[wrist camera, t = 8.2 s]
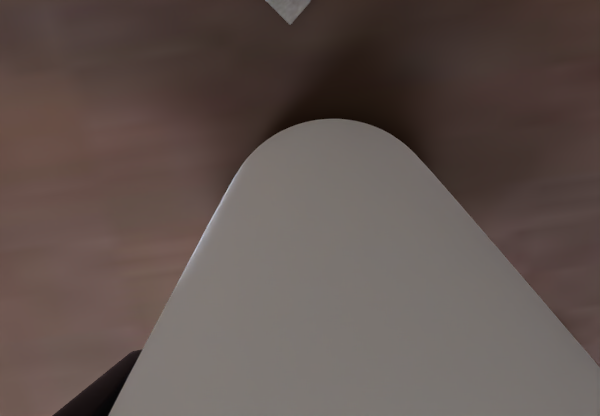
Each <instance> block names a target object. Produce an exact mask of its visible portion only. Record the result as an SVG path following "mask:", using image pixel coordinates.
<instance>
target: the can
mask: <svg viewBox="0 0 600 416" xmlns="http://www.w3.org/2000/svg"><path fill="white" fill-rule="evenodd" d="M108 416H600V367H599V366H598V365H597V364H596V362H595V361H594V360H593V359H592V358H591V357H590V355H589V354H588V353H587V352H586V351H585V349H584V348H583V347H582V346H581V345H580V344H579V342H578V341H577V340H576V339H575V338H574V337H573V335H572V334H571V333H570V332H569V331H568V330H567V328H566V327H565V326H564V325H563V324H562V323H561V321H560V320H559V319H558V318H557V317H556V316H555V314H554V313H553V312H552V311H551V310H550V308H549V307H548V306H547V305H546V304H545V303H544V301H543V300H542V299H541V298H540V297H539V296H538V294H537V293H536V292H535V291H534V290H533V289H532V287H531V286H530V285H529V284H528V283H527V282H526V280H525V279H524V278H523V277H522V276H521V275H520V273H519V272H518V271H517V270H516V269H515V268H514V266H513V265H512V264H511V263H510V262H509V261H508V259H507V258H506V257H505V256H504V255H503V254H502V252H501V251H500V250H499V249H498V248H497V247H496V246H495V244H494V243H493V242H492V241H491V240H490V239H489V237H488V236H487V235H486V234H485V233H484V232H483V230H482V229H481V228H480V227H479V226H478V225H477V223H476V222H475V221H474V220H473V219H472V218H471V217H470V215H469V214H468V213H467V212H466V211H465V210H464V208H463V207H462V206H461V205H460V204H459V203H458V202H457V200H456V199H455V198H454V197H453V196H452V195H451V193H450V192H449V191H448V190H447V189H446V188H445V187H444V185H443V184H442V183H441V182H440V181H439V180H438V179H437V177H436V176H435V175H434V174H433V173H432V172H431V171H430V169H429V168H428V167H427V166H426V165H425V164H424V163H423V162H422V161H421V160H420V158H419V157H418V156H417V155H416V154H415V153H414V152H413V151H412V150H411V149H410V148H409V147H407V146H406V145H405V144H404V143H403V142H401V141H400V140H399V139H397V138H396V137H394V136H393V135H391V134H389V133H388V132H386V131H384V130H382V129H380V128H377V127H375V126H372V125H369V124H366V123H363V122H358V121H354V120H347V119H320V120H313V121H308V122H304V123H301V124H297V125H294V126H292V127H289V128H287V129H285V130H283V131H281V132H279V133H277V134H275V135H274V136H272V137H270V138H269V139H267V140H266V141H265V142H263V143H262V144H261V145H260V146H259V147H258V148H256V149H255V150H254V151H253V152H252V153H251V155H250V156H249V157H248V158H247V159H246V160H245V162H244V163H243V164H242V166H241V167H240V169H239V170H238V172H237V173H236V175H235V177H234V178H233V180H232V182H231V184H230V185H229V187H228V189H227V191H226V193H225V194H224V196H223V198H222V200H221V202H220V204H219V206H218V207H217V209H216V211H215V213H214V215H213V217H212V219H211V221H210V222H209V224H208V226H207V228H206V230H205V232H204V234H203V236H202V237H201V239H200V241H199V243H198V245H197V247H196V249H195V251H194V252H193V254H192V256H191V258H190V260H189V262H188V264H187V266H186V268H185V270H184V271H183V273H182V275H181V277H180V279H179V281H178V283H177V285H176V287H175V289H174V290H173V292H172V294H171V296H170V298H169V300H168V302H167V304H166V306H165V307H164V309H163V311H162V313H161V315H160V317H159V319H158V321H157V323H156V325H155V327H154V329H153V330H152V332H151V334H150V336H149V338H148V340H147V342H146V344H145V346H144V348H143V350H142V351H141V353H140V355H139V357H138V359H137V361H136V363H135V365H134V367H133V369H132V371H131V373H130V374H129V376H128V378H127V380H126V382H125V384H124V386H123V388H122V390H121V392H120V394H119V396H118V398H117V400H116V401H115V403H114V405H113V407H112V409H111V411H110V413H109V415H108Z"/></svg>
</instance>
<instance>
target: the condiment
mask: <svg viewBox="0 0 600 416" xmlns="http://www.w3.org/2000/svg"><path fill="white" fill-rule="evenodd" d="M266 1H267V2H268V3H269V4H270V5H271V6H272V7H273V8H274V9H275V10H276V11H277V12H278V13H279V14H280V15H281V16H282V17H283V18H284V19H285V20H286V21H287V22H288V23H289V24H291V23H292V22H293V21H294V20H295V19H296V18H297V16H298V15H299V14H300V13H301V12H302V11H303V10H304V8H305V7H306V6H307V5H308V4H309V2H310V1H311V0H266Z"/></svg>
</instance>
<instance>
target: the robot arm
mask: <svg viewBox="0 0 600 416" xmlns="http://www.w3.org/2000/svg"><path fill="white" fill-rule="evenodd" d="M142 350H143V349H142ZM142 350H137V351H133V352H131V353H129V354H128V355H127V356H126V357H124V358H123V359H122V360H121V361H119V362H118V363H117V364H116V365H115V366H113V367H112V368H111V369H110V370H108V371H107V372H106V373H105V374H103V375H102V376H101V377H100V378H98V379H97V380H96V381H95V382H94V383H92V384H91V385H90V386H89V387H87V388H86V389H85V390H84V391H82V392H81V393H80V394H79V395H77V396H76V397H75V398H74V399H73V400H71V401H70V402H69V403H68V404H66V405H65V406H64V407H63V408H61V409H60V410H59V411H58V412H57V413H55V414H54V415H53V416H108V415H109V413H110V411H111V409H112V407H113V405H114V403H115V401H116V400H117V398H118V396H119V394H120V392H121V390H122V388H123V386H124V384H125V382H126V380H127V378H128V376H129V374H130V373H131V371H132V369H133V367H134V365H135V363H136V361H137V359H138V357H139V355H140V353H141V351H142Z"/></svg>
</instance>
